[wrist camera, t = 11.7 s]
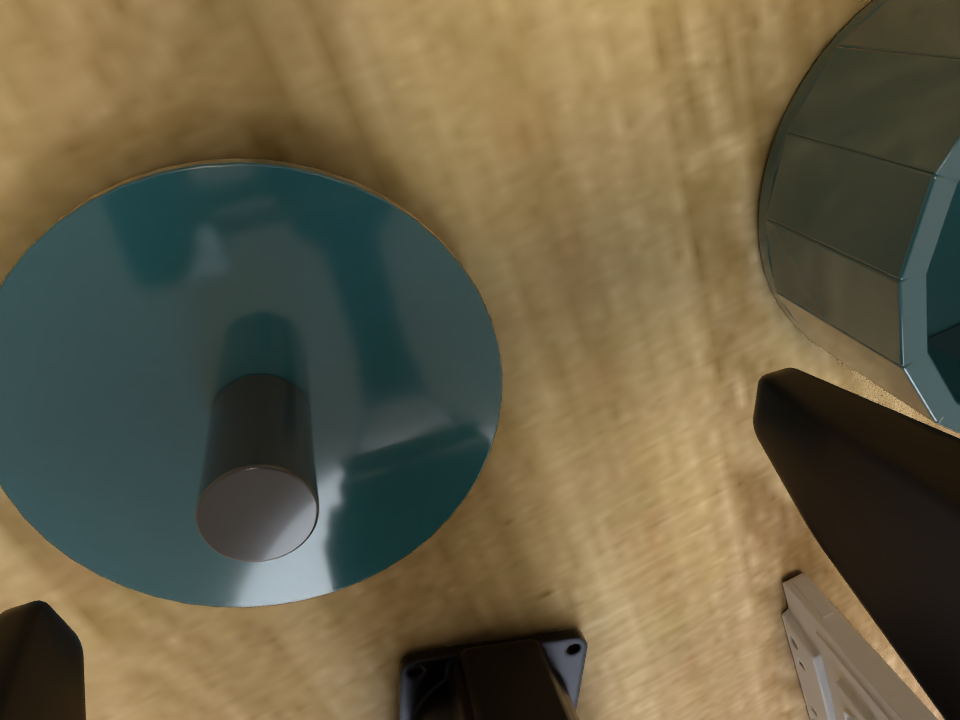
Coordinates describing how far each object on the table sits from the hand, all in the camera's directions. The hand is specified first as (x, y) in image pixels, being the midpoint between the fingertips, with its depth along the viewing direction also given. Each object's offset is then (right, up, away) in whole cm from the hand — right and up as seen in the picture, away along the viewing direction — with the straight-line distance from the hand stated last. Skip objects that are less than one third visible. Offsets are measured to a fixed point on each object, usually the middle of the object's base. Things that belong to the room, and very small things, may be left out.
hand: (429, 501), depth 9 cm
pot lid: (-5, +1, +10) cm, 11 cm away
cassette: (+14, -11, +22) cm, 28 cm away
